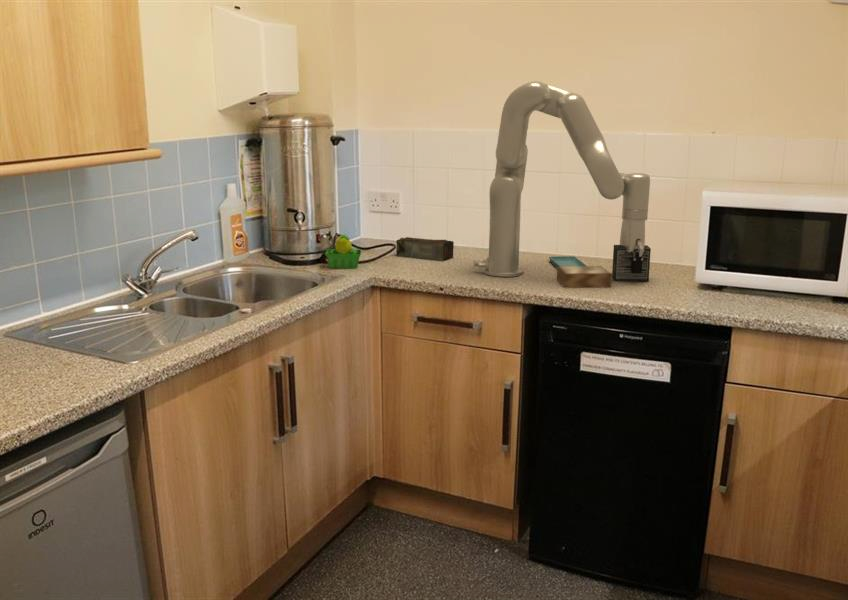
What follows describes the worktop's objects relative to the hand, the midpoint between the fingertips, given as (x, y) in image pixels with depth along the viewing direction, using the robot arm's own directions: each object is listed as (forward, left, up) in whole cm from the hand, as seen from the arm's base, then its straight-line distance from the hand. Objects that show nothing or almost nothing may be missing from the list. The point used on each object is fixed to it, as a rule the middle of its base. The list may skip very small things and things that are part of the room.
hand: (631, 269), depth 245 cm
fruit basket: (-89, +21, -3) cm, 92 cm away
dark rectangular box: (-61, +37, -4) cm, 72 cm away
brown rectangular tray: (-16, -5, -3) cm, 17 cm away
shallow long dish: (-15, +15, -4) cm, 22 cm away
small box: (0, 0, -3) cm, 3 cm away
